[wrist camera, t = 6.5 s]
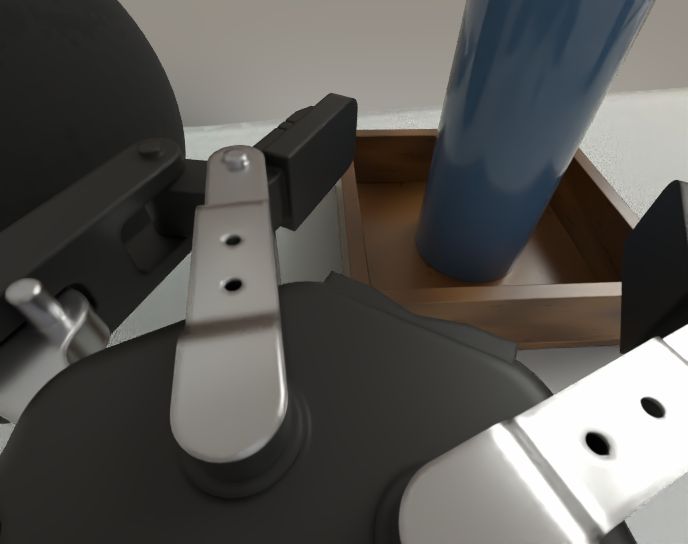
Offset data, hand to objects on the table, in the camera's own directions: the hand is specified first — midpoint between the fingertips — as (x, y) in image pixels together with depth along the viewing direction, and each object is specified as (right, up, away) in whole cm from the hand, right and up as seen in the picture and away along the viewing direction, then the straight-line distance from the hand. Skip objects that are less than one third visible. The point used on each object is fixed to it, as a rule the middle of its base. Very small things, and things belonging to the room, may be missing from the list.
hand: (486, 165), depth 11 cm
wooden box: (+3, -2, +13) cm, 13 cm away
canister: (+3, -1, +12) cm, 13 cm away
